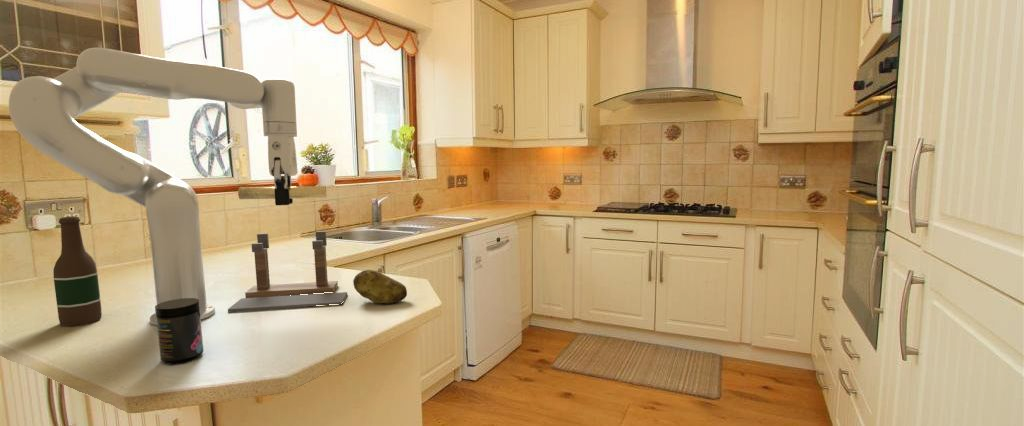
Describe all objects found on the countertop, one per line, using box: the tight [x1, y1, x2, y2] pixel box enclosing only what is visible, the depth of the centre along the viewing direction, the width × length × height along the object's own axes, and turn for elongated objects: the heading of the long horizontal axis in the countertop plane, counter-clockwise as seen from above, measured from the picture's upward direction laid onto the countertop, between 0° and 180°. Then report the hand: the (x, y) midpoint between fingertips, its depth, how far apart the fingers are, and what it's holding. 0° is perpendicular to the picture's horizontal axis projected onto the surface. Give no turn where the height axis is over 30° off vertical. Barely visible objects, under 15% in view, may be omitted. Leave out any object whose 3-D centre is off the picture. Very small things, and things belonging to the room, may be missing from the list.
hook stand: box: [244, 230, 339, 298], centre depth 134 cm, size 7×22×16 cm, turn 100°
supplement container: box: [154, 298, 204, 365], centre depth 91 cm, size 7×7×10 cm
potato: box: [352, 269, 408, 304], centre depth 124 cm, size 8×13×8 cm, turn 64°
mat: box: [227, 291, 348, 313], centre depth 125 cm, size 9×26×1 cm, turn 100°
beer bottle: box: [52, 216, 103, 327], centre depth 112 cm, size 8×8×24 cm
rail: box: [237, 185, 328, 200], centre depth 124 cm, size 3×20×3 cm, turn 103°
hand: (284, 203), depth 125 cm, fingers closed on rail, 3 cm apart
